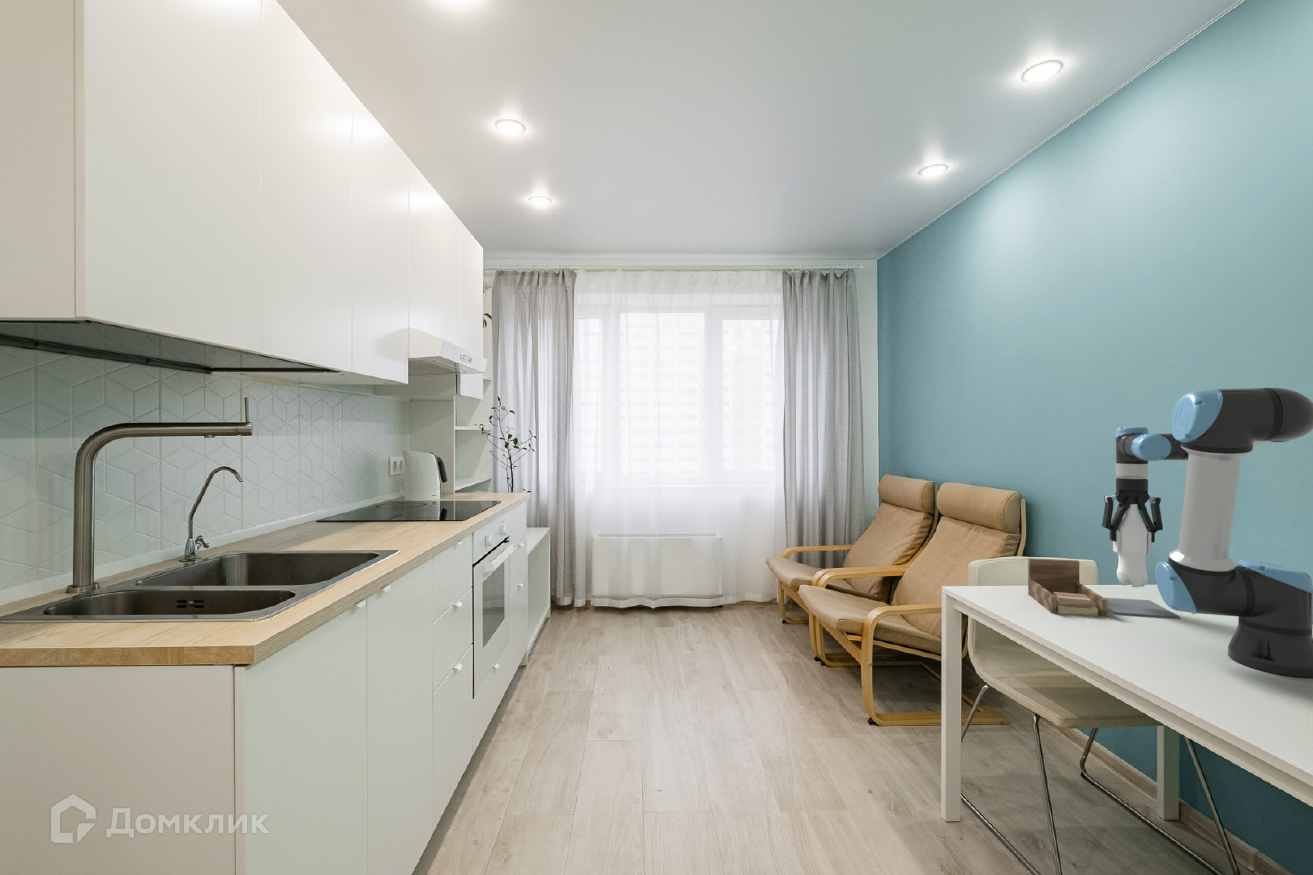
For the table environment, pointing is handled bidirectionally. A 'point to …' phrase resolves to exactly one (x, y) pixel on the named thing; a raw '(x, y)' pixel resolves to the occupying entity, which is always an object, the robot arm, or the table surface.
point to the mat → (1138, 608)
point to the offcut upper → (1072, 600)
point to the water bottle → (1132, 549)
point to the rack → (1058, 583)
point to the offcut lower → (1076, 610)
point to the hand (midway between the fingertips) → (1131, 552)
